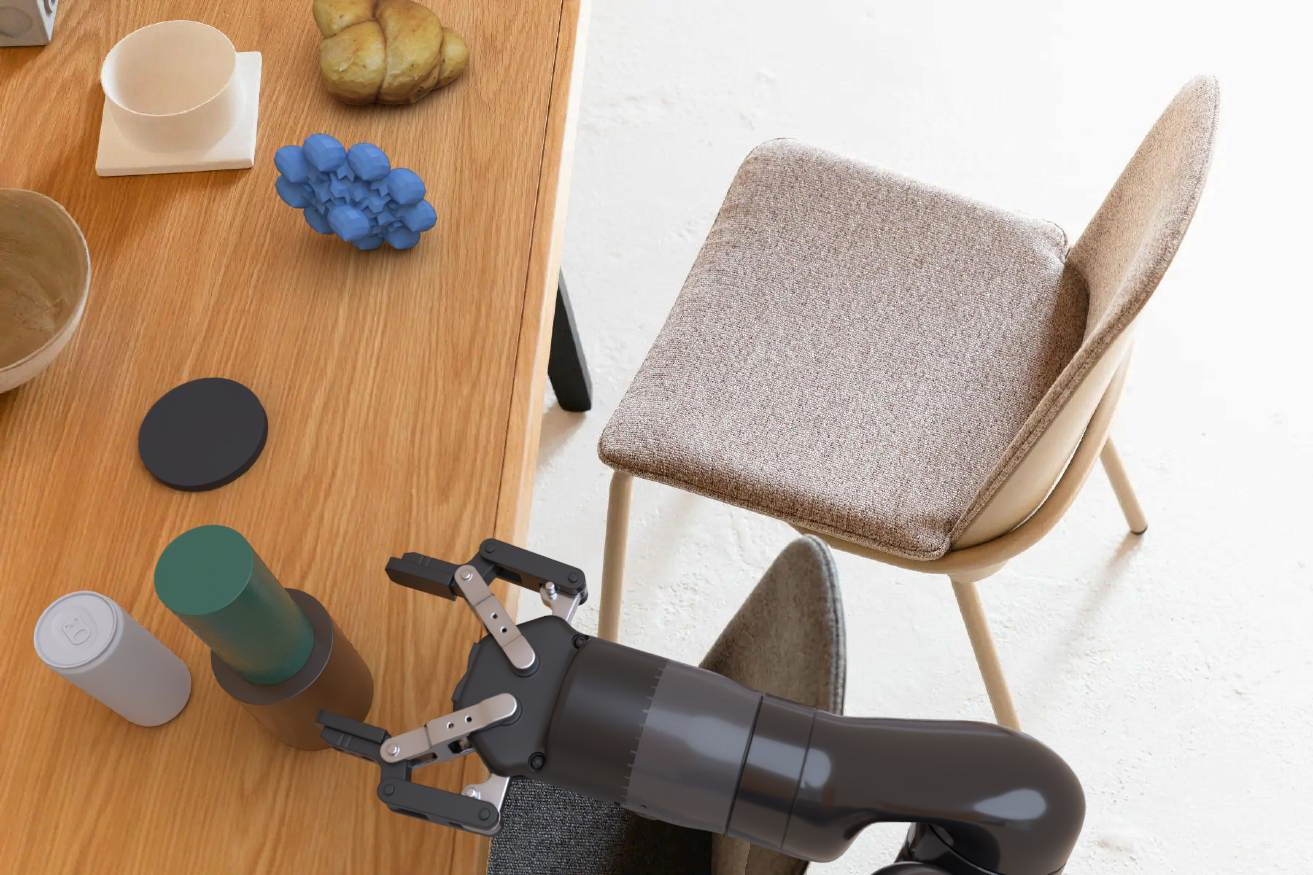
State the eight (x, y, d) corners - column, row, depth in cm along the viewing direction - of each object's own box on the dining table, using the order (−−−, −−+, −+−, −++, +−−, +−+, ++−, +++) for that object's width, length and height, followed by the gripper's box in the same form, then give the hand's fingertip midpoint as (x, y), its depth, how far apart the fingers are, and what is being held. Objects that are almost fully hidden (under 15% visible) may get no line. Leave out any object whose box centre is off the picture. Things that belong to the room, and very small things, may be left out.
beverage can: (169, 642, 77) (89, 571, 67) (210, 692, 76) (135, 628, 65) (106, 692, 76) (14, 628, 65) (146, 745, 74) (58, 688, 63)
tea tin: (254, 702, 65) (180, 634, 55) (214, 637, 67) (136, 560, 57) (329, 651, 66) (270, 576, 57) (288, 589, 68) (224, 506, 59)
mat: (177, 515, 82) (171, 509, 81) (122, 427, 85) (116, 420, 84) (290, 446, 84) (286, 439, 83) (232, 363, 88) (228, 356, 87)
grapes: (289, 286, 91) (239, 182, 81) (307, 218, 95) (261, 110, 84) (436, 292, 91) (405, 188, 80) (449, 223, 94) (420, 115, 84)
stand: (297, 773, 73) (245, 730, 64) (245, 686, 76) (188, 633, 67) (394, 705, 75) (356, 654, 66) (339, 623, 78) (296, 564, 69)
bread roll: (478, 43, 104) (464, -32, 97) (464, 123, 99) (447, 50, 93) (336, 40, 105) (311, -36, 98) (315, 120, 100) (287, 46, 93)
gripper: (697, 577, 58) (396, 491, 60) (605, 866, 51) (271, 756, 54) (695, 629, 64) (423, 550, 67) (613, 892, 58) (315, 793, 60)
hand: (355, 642), depth 60 cm, fingers open, 8 cm apart
